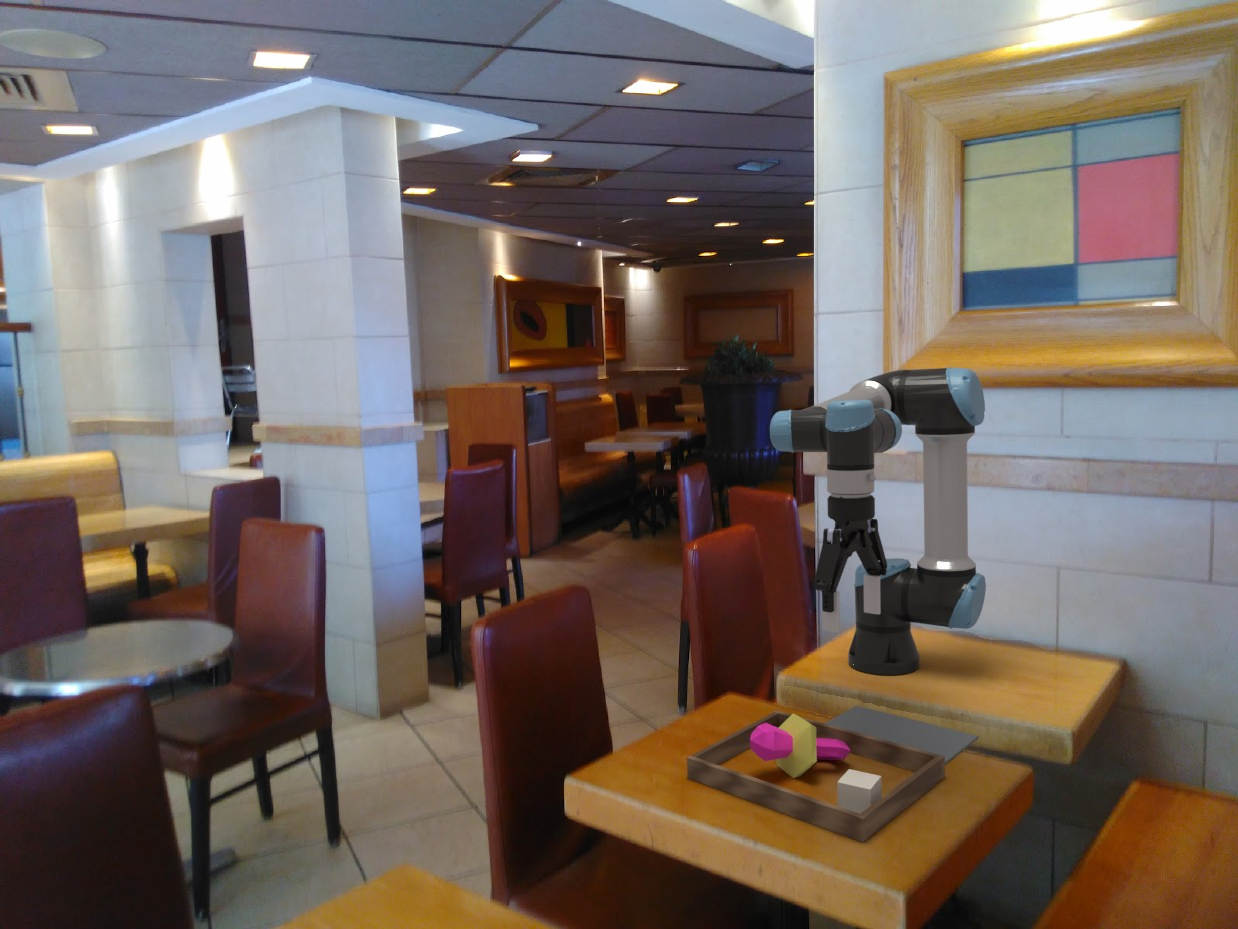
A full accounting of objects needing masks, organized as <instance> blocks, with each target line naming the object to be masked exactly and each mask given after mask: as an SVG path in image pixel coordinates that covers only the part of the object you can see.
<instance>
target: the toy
mask: <svg viewBox="0 0 1238 929" xmlns="http://www.w3.org/2000/svg"><path fill="white" fill-rule="evenodd" d="M750 745H751V748H750V750H751V751H752V752H753V753H754V754H755V755H756V756H757V757H758V758H760V759H761V760H763V761H764V762H769V761H774V760H776V766H777V767H778V768H779V769H781V770H782V771H784V772H785V773H786V774H787V775H788V776H790V777H791V778H792V779H796V778H798V777H801V776H802V775H803V774H805V772H807V771H808V770H809V769H810V768H811V767H812V766H813V765H815V763H817V762H818V760H822V761H823V760H824V761H836V760H837V761H838V760H839V761H840V760H845V759H846V758H847V757H848V755H850V754H851V753H850V751H851V750H850V749H849V748H848V746H847V745H846V744H845V742H843V741H840V740H838V739H825V738H816V727H815V726H813V725H811V724H810V723H808V722H807V721H805V720H804V719H802V718H801V716H799V715H797V714H796V713H794V712H793V713H792V715H791V716H790V717H789V718H788V719H787V720H786V721H785V722H784V723H783V724H782V725H781V726H780V727H779V728H777V727H775V726H772V725H770V724H768V723H764V724H761V725H759V726H757V727H756V729H755V730H754V731H753V732H752V734H751V737H750Z"/></svg>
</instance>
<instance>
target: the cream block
mask: <svg viewBox="0 0 1238 929" xmlns="http://www.w3.org/2000/svg"><path fill="white" fill-rule="evenodd" d="M836 785H837V786H836V787H837V789H836V790H837V806H839V807H841V808H844V809H847V810H850V811H853V812H856V813H859V814H860V813H862V812H863V811H864V810H866V809H867V808H868V807H870V806H871V805H872V804H874V803H875V802H876V801H878V800H879V799H880V798H882V797H883V795H882V791H883V790H882V787H883V786H882V775H878V774H873V773H868V772H864V771H860V770H857V769H856V770H855V769H850V768H849V769H847V771H846V772H845V773H844V774H843V775H842V776H841V777H840V779H838V781H837V783H836Z"/></svg>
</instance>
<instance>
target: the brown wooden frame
mask: <svg viewBox="0 0 1238 929" xmlns="http://www.w3.org/2000/svg"><path fill="white" fill-rule="evenodd" d="M792 714H793V713H792ZM792 714H791V713H788V712H784V711H781V710H775V711H772V712H771V713H769V714H768V715H766V716H764V717H763V718H760V719H758V720H755V721H754V722H753V723H751V724H749V725H747V726H745V727H742V728H741V729H739V730H737V731H735V732H733V733H731V734H729V735H727V736H725V737H723V738H721V739H720V740H718V741H716V742H714V743H712V744H710V745H708V746H707V747H704V748H702V749H701V750H699V751H697V752H695V753H692V754H691V755H689V756H687V757H686V772H687V773H686V775H687V779H689V780H692V781H695V782H697V783H700V784H703V785H705V786H708V787H711V788H713V789H716V790H719V791H722V792H725V793H728V794H730V795H733V796H735V797H738V798H741V799H743V800H746V801H749V802H751V803H755V804H757V805H760V806H763V807H765V808H767V809H771V810H774V811H776V812H778V813H782V814H784V815H787V816H790V817H793V818H795V819H798V820H800V821H802V822H807V823H809V824H811V825H814V826H817V827H820V828H822V829H825V830H827V831H831V832H833V833H836V834H839V835H842V836H844V837H847V838H850V839H852V840H855V841H858V842H861V843H865V841H867V840H868V839H870V838H871V837H872V836H874V834H876V833H877V832H878V831H879V830H881V829H882V828H884V827H885V826H886V825H887V824H889V822H891V821H892V820H894V819H895V818H896V817H897V816H899V815H900V814H901V813H902V812H904V811H905V810H906V809H907V808H908V807H909V806H911V805H913V803H915V802H916V801H917V800H918V799H919V798H921V797H922V796H924V795H925V794H926V793H927V792H928V791H930V790H931V789H932V788H934V787H935V786H936V785H938V784H939V782H941V781H942V780H943V779H944V778H945V777H946V772H945V771H946V768H945V767H946V764H945V756H941V755H938V754H934V753H930V752H927V751H923V750H919V749H916V748H912V747H909V746H905V745H901V744H898V743H894V742H890V741H887V740H883V739H879V738H876V737H872V736H868V735H865V734H861V733H857V732H854V731H850V730H847V729H843V728H839V727H836V726H832V725H828V724H825V723H826V722H821V721H816V720H814V719H809V718H806V717H801V716H800V717H801V718H802V719H804V720H805V721H807V722H808V723H810V724H811V725H813V726H815V727H816V738H825V739H838V740H840V741H843V742H845V744H846V745H847V746H848V748H849V749H850V750H851V751H850V753H849V754H853V755H857V756H861V757H864V758H868V759H871V760H874V761H877V762H881V763H884V764H888V765H891V766H894V767H899V768H901V769H905V770H908V771H911V772H912V771H913V772H914V773H912V774H911V775H909V776H908V777H907V778H906V779H904V780H903V781H901V782H900V783H899V784H898V785H897V786H895V787H894V788H892V789H891V790H889V791H888V792H887V793H885V795H882V798H880V799H879V800H878V801H876V802H875V803H874V804H872V805H871V806H870V807H868V808H867V809H866V810H864V811H863V812H862V813H860V814H859V813H856V812H853V811H850V810H847V809H844V808H841V807H839V806H838V805H835V804H832V803H830V802H826V801H824V800H820V799H819V798H814V797H812V796H809V795H807V794H803V793H801V792H797V791H795V790H791V789H789V788H786V787H782V786H780V785H778V784H774V783H772V782H769V781H765V780H762V779H759V778H756V777H753V776H750V775H748V774H745V773H742V772H739V771H737V770H733V769H730V768H728V767H724V766H722V765H721V764H724V763H725V762H727V761H729V760H731V759H733V758H735V757H736V756H737V755H740V754H741V753H744V752H745V751H748V750H749V749H751V745H750V737H751V734H752V732H753V731H754V730H755V729H756V727H757V726H759V725H761V724H764V723H768V724H770V725H772V726H775V727H777V728H779V727H780V726H781V725H782V724H783V723H784V722H785V721H786V720H787V719H788V718H789V717H790V716H791V715H792Z"/></svg>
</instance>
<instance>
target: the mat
mask: <svg viewBox="0 0 1238 929" xmlns="http://www.w3.org/2000/svg"><path fill="white" fill-rule="evenodd" d="M824 723H825V724H828V725H832V726H836V727H839V728H843V729H847V730H850V731H854V732H857V733H861V734H865V735H868V736H872V737H876V738H879V739H883V740H887V741H890V742H894V743H898V744H901V745H905V746H909V747H912V748H916V749H919V750H923V751H927V752H930V753H934V754H938V755H941V756H945V765H947V763H948V764H949V762H951V761H952V760H953V759H954V758H955V757H957V756H958V755H960V754H961V753H962V752H963V751H964V750H967V748H968V747H970V746H971V745H972V744H973V743H975V742H976V741H978V740H979V738H980V736H979V735H977V734H976V735H975V734H973V733H969V732H968V733H967V732H964V731H960V730H956V729H953V728H947V727H944V726H939V725H937V724H932V723H927V722H925V721H919V720H916V719H912V718H910V717H909V718H907V717H904V716H899V715H897V714H893V713H888V712H885V711H880V710H876V709H872V708H868V707H864V706H861V705H857V704H856V705H855V706H853V707H851V708H849V709H847V710H846V711H843V712H842V713H841V714H838V715H837V716H836V717H833V718H832V719H830V720H829V721H827V722H824Z"/></svg>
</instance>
